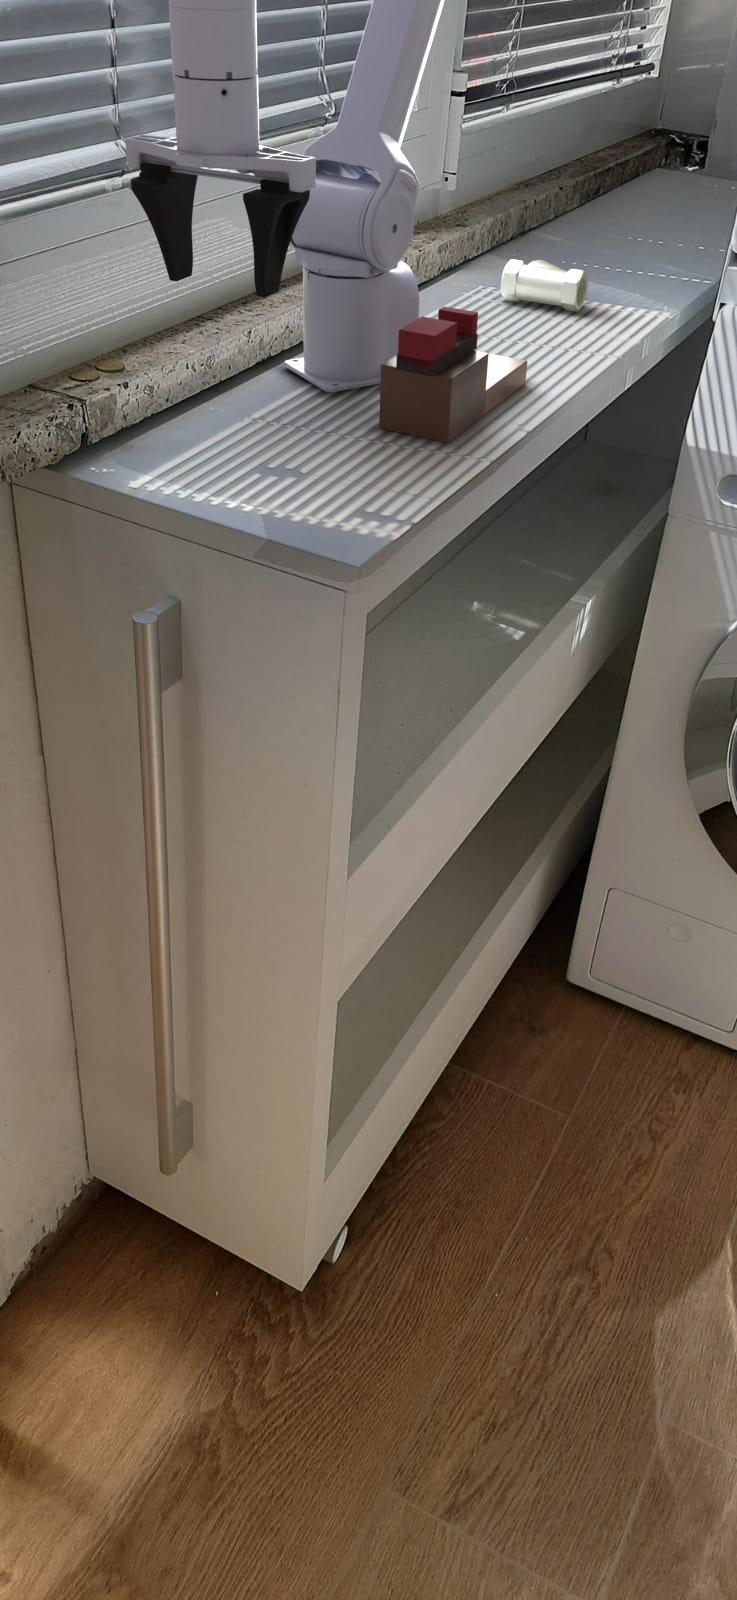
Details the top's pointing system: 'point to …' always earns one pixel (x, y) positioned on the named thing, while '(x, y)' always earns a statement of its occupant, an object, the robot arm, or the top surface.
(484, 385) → the copper l-shaped step block
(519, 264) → the pipe fitting
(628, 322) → the top surface
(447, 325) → the red blocks on slab
